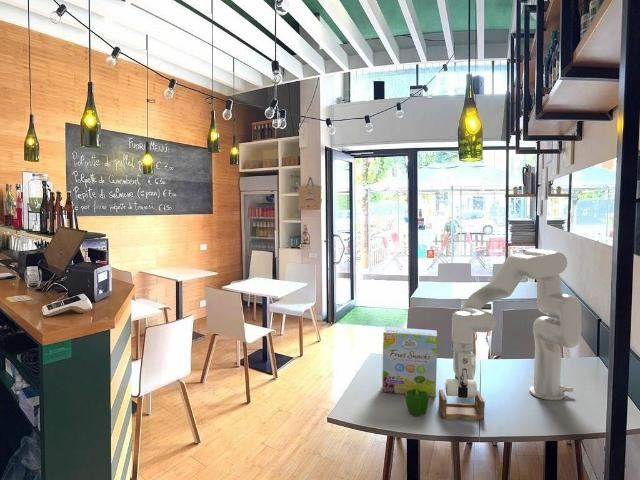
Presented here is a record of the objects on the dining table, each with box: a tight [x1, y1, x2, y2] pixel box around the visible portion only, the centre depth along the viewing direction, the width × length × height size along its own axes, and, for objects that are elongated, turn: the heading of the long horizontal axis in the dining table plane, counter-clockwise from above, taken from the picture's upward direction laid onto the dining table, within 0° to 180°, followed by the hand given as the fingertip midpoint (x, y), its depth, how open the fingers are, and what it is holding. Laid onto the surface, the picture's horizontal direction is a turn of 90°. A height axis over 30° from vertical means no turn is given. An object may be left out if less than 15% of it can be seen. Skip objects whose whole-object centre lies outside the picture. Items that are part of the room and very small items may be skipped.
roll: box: [444, 378, 478, 398], centre depth 163 cm, size 10×6×6 cm, turn 84°
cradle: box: [438, 389, 485, 421], centre depth 163 cm, size 14×9×7 cm, turn 84°
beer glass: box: [467, 352, 477, 380], centre depth 184 cm, size 7×7×15 cm
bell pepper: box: [405, 385, 430, 417], centre depth 164 cm, size 8×8×10 cm
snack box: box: [381, 326, 438, 398], centre depth 182 cm, size 22×9×26 cm, turn 77°
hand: (460, 393), depth 163 cm, fingers closed on roll, 6 cm apart
